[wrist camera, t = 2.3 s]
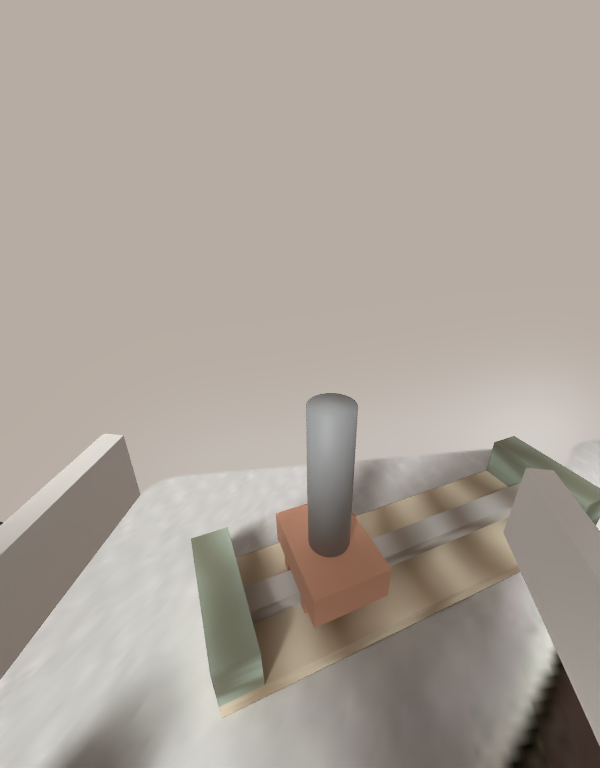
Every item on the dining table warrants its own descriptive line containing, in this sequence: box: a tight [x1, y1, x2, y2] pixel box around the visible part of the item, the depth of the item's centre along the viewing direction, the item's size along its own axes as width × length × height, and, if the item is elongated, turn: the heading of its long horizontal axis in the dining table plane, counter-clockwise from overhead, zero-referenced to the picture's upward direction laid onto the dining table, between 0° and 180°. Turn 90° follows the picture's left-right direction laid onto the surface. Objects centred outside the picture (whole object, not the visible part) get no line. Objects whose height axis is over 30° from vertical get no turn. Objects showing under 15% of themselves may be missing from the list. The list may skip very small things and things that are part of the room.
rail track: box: [191, 436, 600, 718], centre depth 31 cm, size 36×10×6 cm, turn 112°
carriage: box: [276, 393, 392, 628], centre depth 25 cm, size 6×8×16 cm
